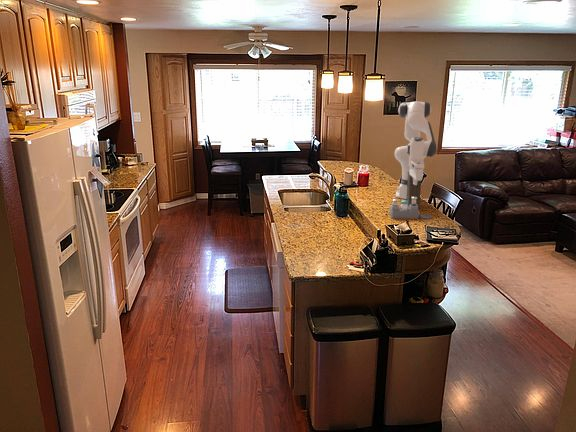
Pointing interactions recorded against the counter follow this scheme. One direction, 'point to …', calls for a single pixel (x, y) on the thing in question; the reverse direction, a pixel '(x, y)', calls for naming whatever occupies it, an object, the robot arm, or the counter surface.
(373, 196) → the counter surface
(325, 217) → the counter surface
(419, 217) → the mat
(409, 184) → the grey upright box
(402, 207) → the cartridge
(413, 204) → the plunger
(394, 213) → the housing
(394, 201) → the plunger
